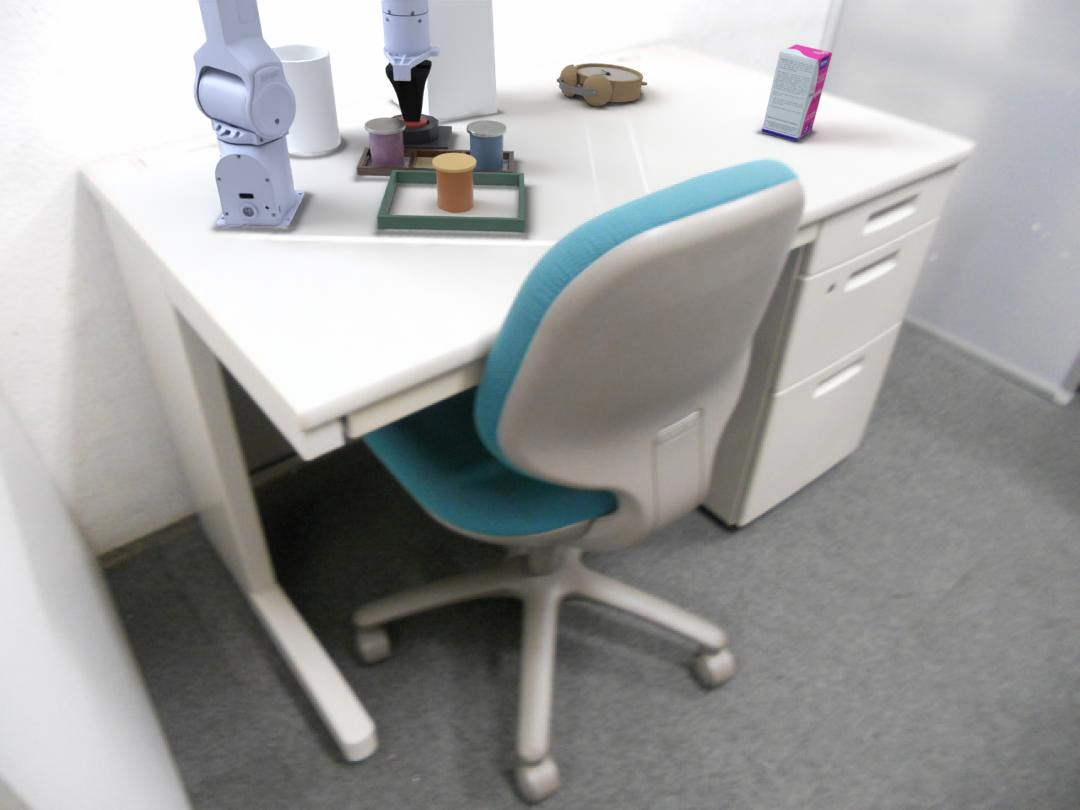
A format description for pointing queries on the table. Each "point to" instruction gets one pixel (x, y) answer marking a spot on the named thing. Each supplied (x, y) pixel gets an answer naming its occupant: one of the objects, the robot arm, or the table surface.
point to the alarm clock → (601, 83)
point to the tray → (451, 221)
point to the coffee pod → (454, 181)
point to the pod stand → (421, 161)
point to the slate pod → (487, 143)
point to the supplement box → (796, 92)
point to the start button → (415, 123)
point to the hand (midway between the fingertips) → (412, 120)
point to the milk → (460, 60)
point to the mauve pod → (386, 142)
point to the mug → (310, 98)
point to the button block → (427, 135)
